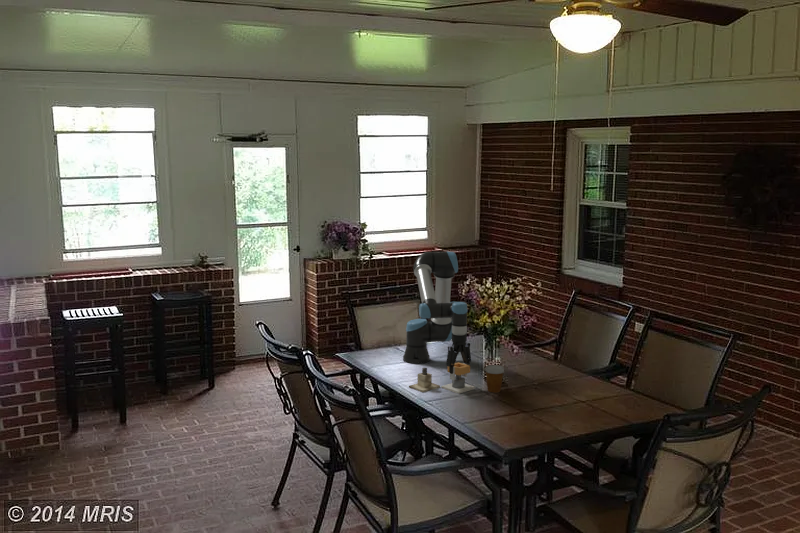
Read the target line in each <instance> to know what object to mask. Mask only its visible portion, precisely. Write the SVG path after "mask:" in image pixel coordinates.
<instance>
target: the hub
mask: <svg viewBox="0 0 800 533" xmlns="http://www.w3.org/2000/svg"><path fill="white" fill-rule="evenodd" d="M440 388H441V389H444V390H446V391H449V392H453V393H455V394H458V395H459V394H462V393H466V392H469V391H473V390H475V389H476V386H473V385H470V384H467V383H466V377H464V376H462V375H456V374H455V380H451V383H448V384H444V385H440Z"/></svg>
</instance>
